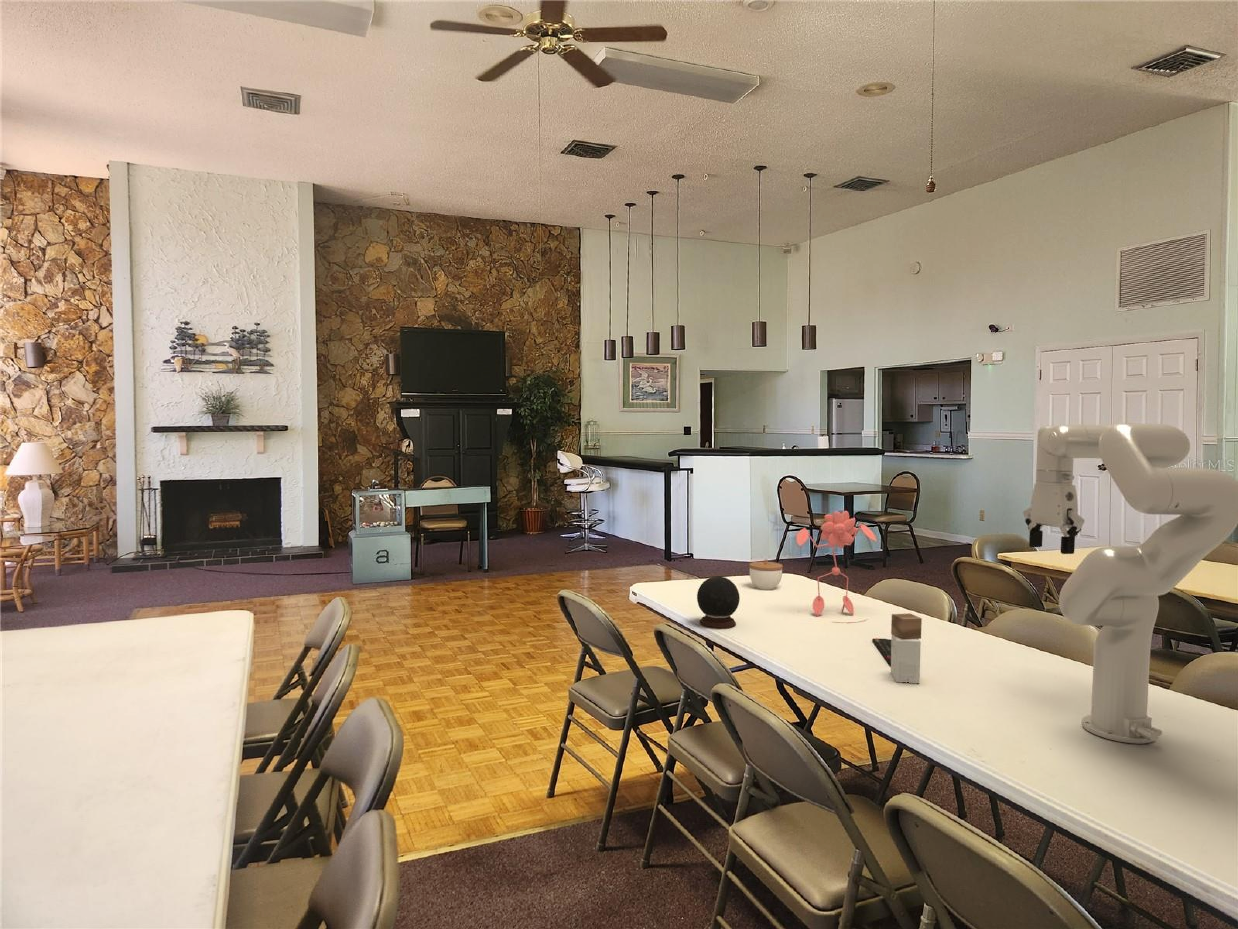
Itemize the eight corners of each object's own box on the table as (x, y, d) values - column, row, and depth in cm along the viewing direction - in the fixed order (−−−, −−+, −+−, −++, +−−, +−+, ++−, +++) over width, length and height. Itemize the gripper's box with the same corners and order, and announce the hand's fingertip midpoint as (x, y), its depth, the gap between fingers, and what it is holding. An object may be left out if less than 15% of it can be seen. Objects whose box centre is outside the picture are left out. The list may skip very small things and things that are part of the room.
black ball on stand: (699, 630, 228) (700, 580, 228) (693, 618, 241) (694, 572, 241) (742, 630, 229) (743, 581, 228) (734, 619, 242) (735, 572, 241)
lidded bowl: (763, 583, 298) (763, 555, 298) (788, 588, 289) (789, 560, 288) (741, 587, 290) (742, 558, 290) (767, 593, 281) (768, 563, 280)
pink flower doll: (790, 611, 252) (794, 507, 250) (864, 611, 255) (869, 508, 252) (805, 624, 237) (810, 514, 234) (884, 624, 239) (889, 514, 237)
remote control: (890, 668, 195) (890, 663, 195) (871, 642, 219) (871, 638, 219) (911, 670, 194) (911, 665, 194) (890, 643, 218) (890, 639, 218)
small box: (919, 684, 182) (921, 641, 181) (895, 682, 183) (896, 640, 183) (913, 674, 190) (915, 632, 189) (890, 672, 191) (891, 631, 190)
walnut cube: (921, 638, 184) (921, 618, 184) (902, 639, 183) (903, 619, 183) (909, 633, 189) (909, 613, 189) (891, 634, 188) (891, 614, 188)
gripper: (1098, 480, 170) (1094, 556, 171) (1039, 475, 187) (1037, 544, 188) (1069, 480, 168) (1066, 557, 169) (1013, 475, 185) (1010, 544, 186)
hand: (1051, 550), depth 178 cm, fingers open, 9 cm apart
